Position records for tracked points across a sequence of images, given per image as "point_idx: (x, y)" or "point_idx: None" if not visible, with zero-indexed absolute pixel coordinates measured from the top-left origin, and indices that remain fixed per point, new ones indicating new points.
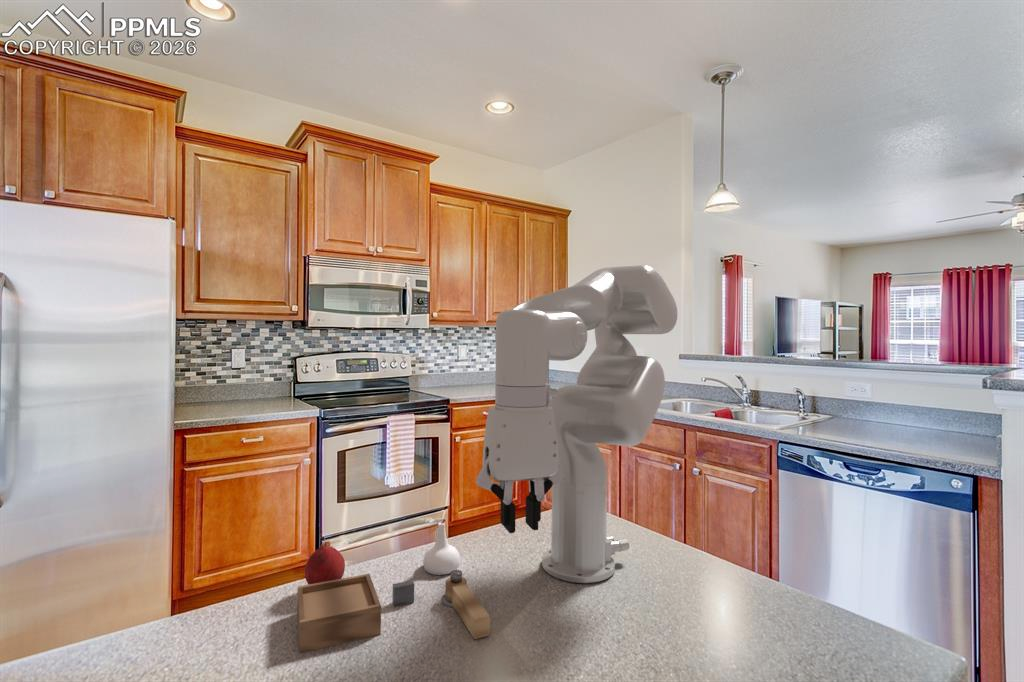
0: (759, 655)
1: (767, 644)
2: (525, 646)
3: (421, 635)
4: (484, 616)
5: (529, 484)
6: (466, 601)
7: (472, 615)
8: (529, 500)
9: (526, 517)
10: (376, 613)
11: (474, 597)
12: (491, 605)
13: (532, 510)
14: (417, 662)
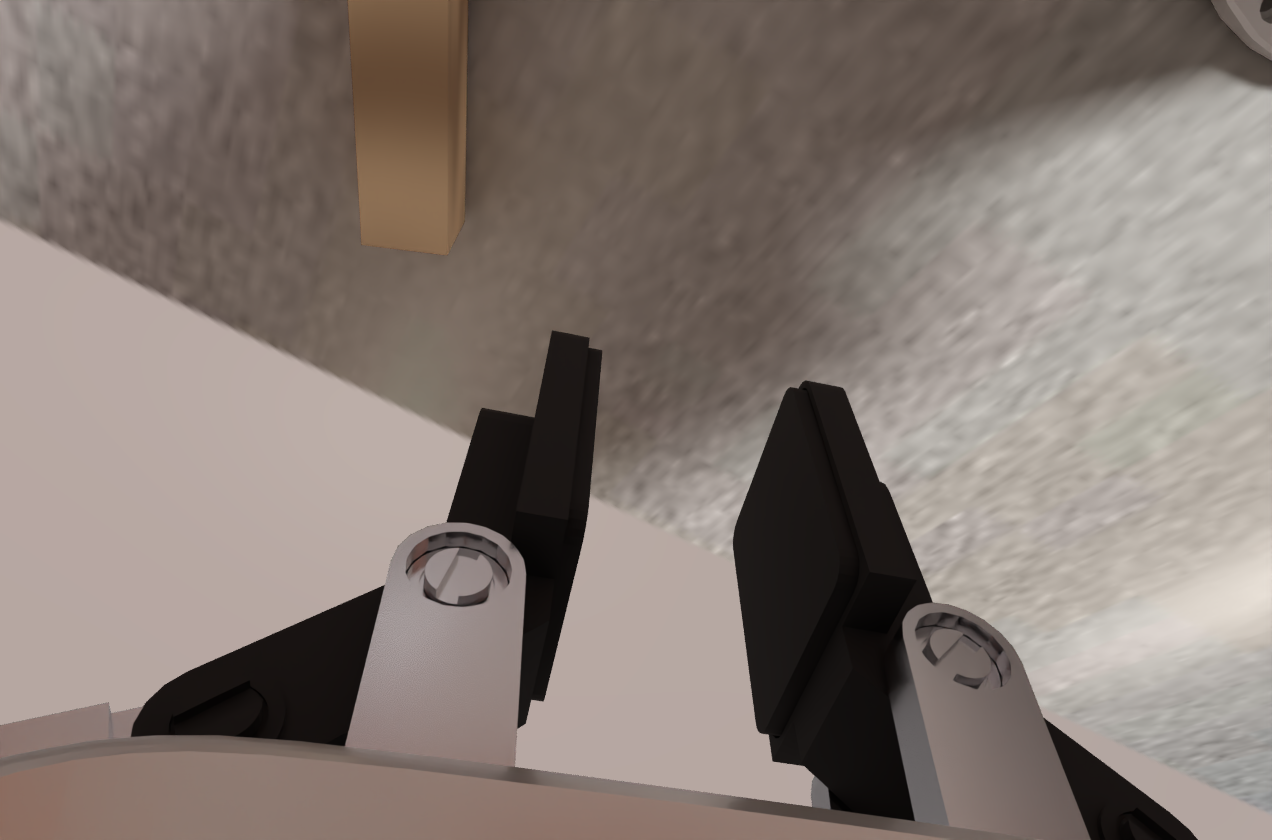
0: (1167, 693)
1: (1248, 681)
2: None
3: (146, 20)
4: (418, 244)
5: (916, 759)
6: (375, 47)
7: (364, 201)
8: (799, 653)
9: (791, 435)
10: None
11: (438, 29)
12: None
13: (757, 649)
14: (116, 211)
